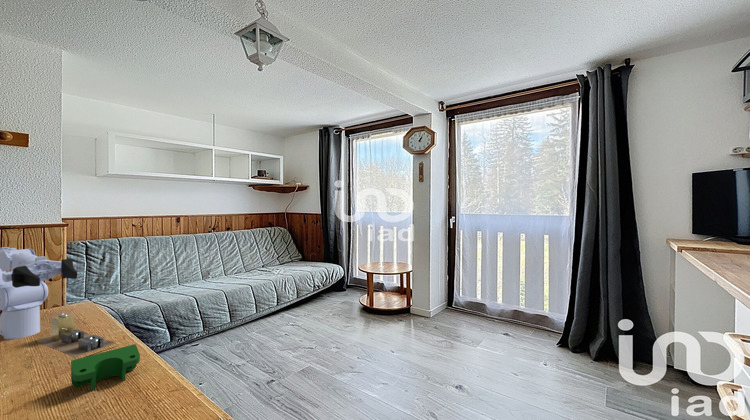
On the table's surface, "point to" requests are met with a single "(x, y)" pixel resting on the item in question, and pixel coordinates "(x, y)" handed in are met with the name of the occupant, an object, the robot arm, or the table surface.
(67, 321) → the brushed brass block
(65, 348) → the board
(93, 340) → the steel ball guide
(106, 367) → the clamp
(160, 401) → the table surface
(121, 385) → the table surface
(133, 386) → the table surface
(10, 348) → the table surface
